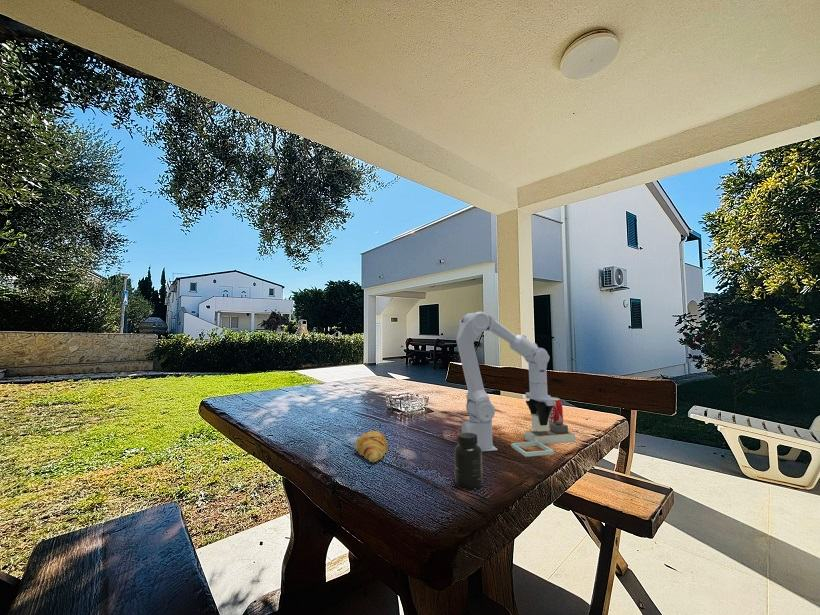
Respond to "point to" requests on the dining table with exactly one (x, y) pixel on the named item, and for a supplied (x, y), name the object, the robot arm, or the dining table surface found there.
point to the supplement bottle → (468, 462)
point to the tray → (535, 453)
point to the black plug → (559, 428)
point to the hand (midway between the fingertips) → (540, 423)
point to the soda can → (556, 411)
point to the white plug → (538, 423)
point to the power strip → (548, 437)
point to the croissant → (372, 445)
